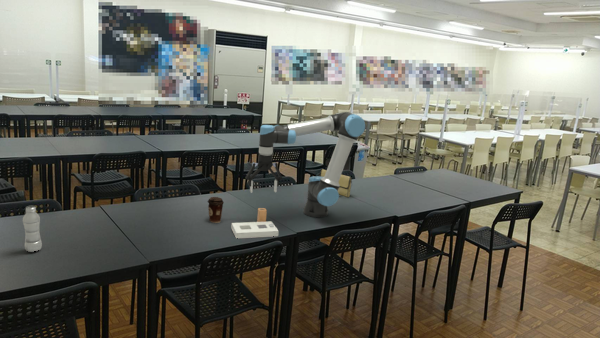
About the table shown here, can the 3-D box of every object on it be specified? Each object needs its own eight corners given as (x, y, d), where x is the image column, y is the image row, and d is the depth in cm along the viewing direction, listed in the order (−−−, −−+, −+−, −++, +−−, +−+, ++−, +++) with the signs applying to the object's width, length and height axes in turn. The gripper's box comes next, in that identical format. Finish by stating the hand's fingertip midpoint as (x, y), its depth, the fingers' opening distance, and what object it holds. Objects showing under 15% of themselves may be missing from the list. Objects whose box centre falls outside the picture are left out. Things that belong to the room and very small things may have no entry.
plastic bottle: (45, 247, 194) (42, 205, 189) (36, 254, 187) (34, 210, 183) (30, 247, 194) (27, 204, 189) (21, 253, 187) (18, 209, 182)
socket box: (271, 226, 241) (271, 220, 240) (278, 236, 228) (278, 229, 227) (231, 228, 234) (231, 222, 233) (236, 238, 221) (236, 231, 220)
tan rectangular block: (264, 221, 248) (264, 207, 246) (265, 224, 244) (266, 210, 242) (257, 221, 246) (257, 208, 244) (258, 224, 243) (259, 210, 241)
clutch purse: (313, 189, 320) (315, 169, 317) (320, 187, 326) (321, 168, 322) (346, 199, 301) (348, 178, 298) (352, 198, 306) (354, 177, 303)
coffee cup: (207, 223, 237) (208, 201, 234) (206, 218, 245) (207, 196, 242) (223, 223, 240) (224, 200, 237) (222, 218, 247) (222, 196, 244)
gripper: (285, 152, 244) (282, 189, 248) (241, 152, 235) (239, 190, 240) (289, 155, 237) (286, 193, 242) (244, 155, 228) (242, 194, 233)
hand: (263, 191), depth 241 cm, fingers open, 13 cm apart
